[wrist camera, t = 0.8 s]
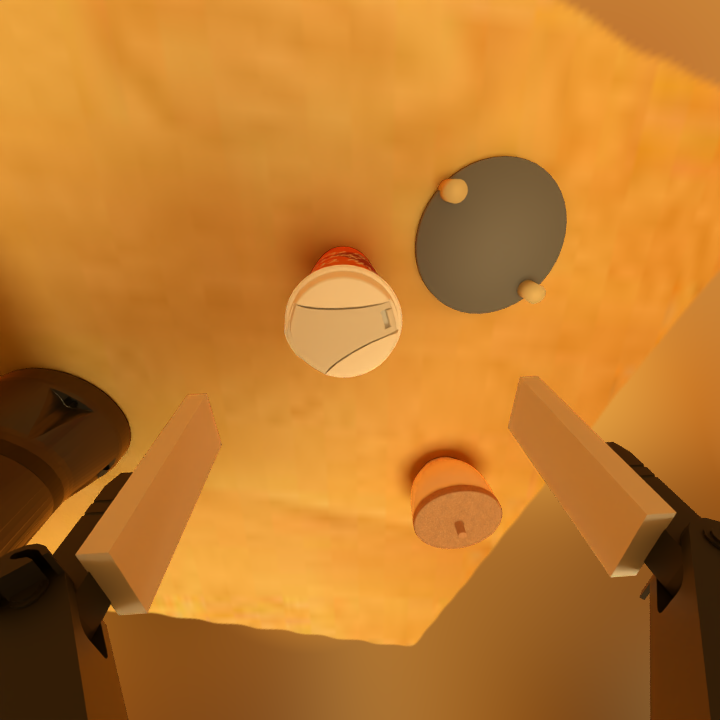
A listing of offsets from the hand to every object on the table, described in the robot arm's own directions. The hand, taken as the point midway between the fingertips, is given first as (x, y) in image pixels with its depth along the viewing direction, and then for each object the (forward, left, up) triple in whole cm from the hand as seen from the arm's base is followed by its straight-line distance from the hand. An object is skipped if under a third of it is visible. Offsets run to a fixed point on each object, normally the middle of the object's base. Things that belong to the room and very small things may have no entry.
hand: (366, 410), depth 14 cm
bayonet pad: (+13, +3, -22) cm, 25 cm away
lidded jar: (+12, -28, -22) cm, 37 cm away
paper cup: (-1, 0, -22) cm, 22 cm away
